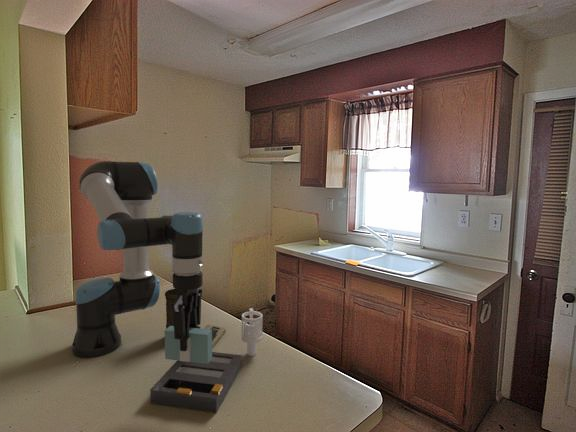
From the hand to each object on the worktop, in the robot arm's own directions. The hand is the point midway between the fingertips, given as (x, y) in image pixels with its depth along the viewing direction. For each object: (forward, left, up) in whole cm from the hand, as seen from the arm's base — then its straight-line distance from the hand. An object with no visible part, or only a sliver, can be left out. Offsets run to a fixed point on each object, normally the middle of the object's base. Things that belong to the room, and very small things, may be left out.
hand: (188, 357), depth 94 cm
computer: (-8, +33, -13) cm, 37 cm away
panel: (0, 0, 0) cm, 0 cm away
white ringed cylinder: (+10, +28, -13) cm, 32 cm away
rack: (0, +8, -12) cm, 14 cm away
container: (-20, +33, -13) cm, 40 cm away
